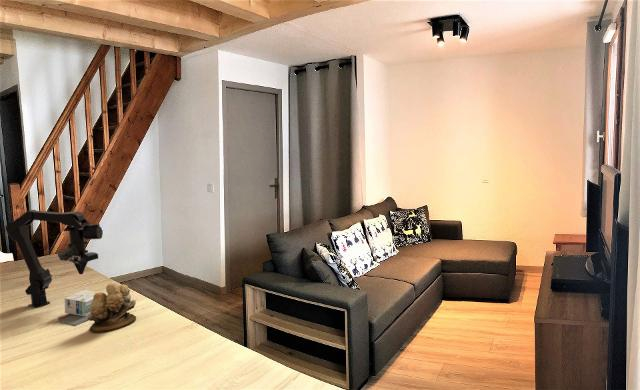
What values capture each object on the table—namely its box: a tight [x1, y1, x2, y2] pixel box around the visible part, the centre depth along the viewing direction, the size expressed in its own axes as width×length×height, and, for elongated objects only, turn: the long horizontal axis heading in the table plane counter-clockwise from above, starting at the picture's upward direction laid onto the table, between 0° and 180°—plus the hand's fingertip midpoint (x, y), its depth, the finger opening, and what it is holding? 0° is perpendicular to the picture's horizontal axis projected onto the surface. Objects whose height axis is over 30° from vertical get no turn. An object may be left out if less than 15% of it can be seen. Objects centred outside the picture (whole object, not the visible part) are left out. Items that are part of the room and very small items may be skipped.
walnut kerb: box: [57, 313, 74, 321], centre depth 188 cm, size 1×16×1 cm, turn 152°
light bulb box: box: [64, 289, 99, 317], centre depth 188 cm, size 11×7×11 cm
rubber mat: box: [57, 314, 92, 327], centre depth 185 cm, size 11×18×1 cm, turn 152°
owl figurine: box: [88, 282, 137, 334], centre depth 173 cm, size 18×12×17 cm, turn 136°
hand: (81, 274), depth 200 cm, fingers closed
